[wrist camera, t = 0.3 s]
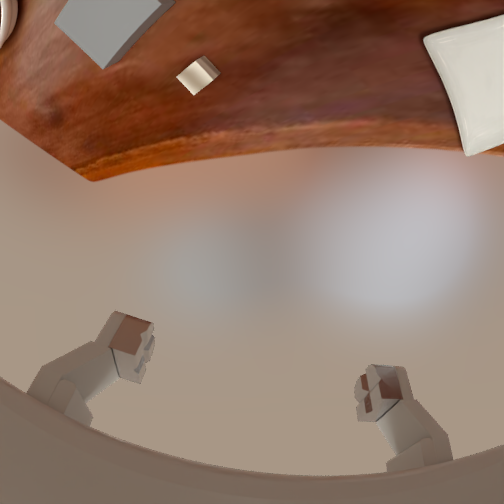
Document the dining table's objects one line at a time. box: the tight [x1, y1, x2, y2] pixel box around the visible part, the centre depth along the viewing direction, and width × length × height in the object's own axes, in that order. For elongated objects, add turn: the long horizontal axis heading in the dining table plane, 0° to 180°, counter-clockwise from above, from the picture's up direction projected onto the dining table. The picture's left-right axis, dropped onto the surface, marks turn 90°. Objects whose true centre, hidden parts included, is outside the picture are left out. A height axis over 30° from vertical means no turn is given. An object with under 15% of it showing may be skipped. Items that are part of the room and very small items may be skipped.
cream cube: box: [177, 56, 221, 95], centre depth 46 cm, size 5×5×5 cm
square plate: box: [423, 15, 504, 157], centre depth 32 cm, size 27×27×4 cm
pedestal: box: [55, 0, 176, 69], centre depth 35 cm, size 18×18×6 cm
